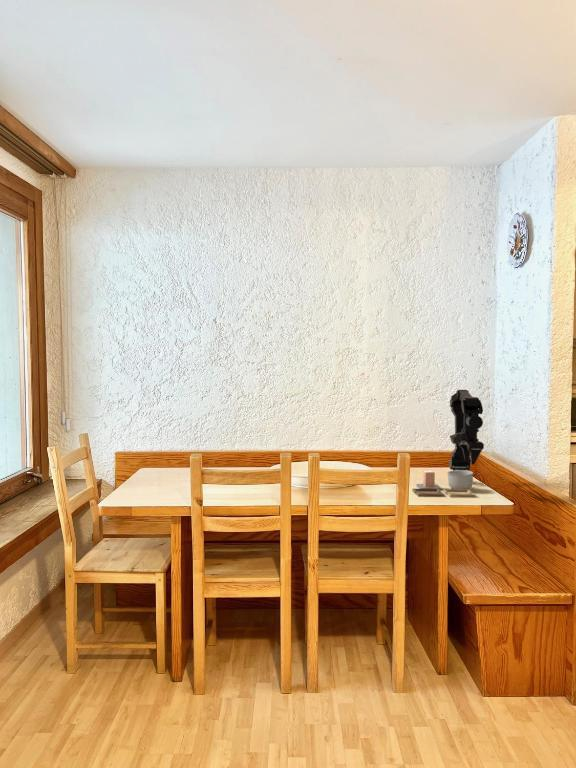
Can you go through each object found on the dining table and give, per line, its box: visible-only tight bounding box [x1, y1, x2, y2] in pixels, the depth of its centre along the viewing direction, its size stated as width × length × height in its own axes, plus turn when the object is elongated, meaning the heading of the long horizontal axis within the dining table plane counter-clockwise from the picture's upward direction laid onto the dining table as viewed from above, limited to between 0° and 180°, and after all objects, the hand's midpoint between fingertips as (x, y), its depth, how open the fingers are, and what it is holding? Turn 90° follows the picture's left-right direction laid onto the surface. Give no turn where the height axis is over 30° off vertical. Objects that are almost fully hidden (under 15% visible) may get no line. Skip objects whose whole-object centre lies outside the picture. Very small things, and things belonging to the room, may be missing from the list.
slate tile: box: [416, 483, 443, 492], centre depth 290 cm, size 9×9×2 cm
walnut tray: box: [412, 488, 445, 498], centre depth 279 cm, size 11×11×2 cm
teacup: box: [447, 470, 474, 490], centre depth 292 cm, size 14×11×8 cm
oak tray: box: [442, 488, 477, 498], centre depth 279 cm, size 11×11×2 cm
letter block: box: [422, 470, 436, 487], centre depth 290 cm, size 4×4×6 cm
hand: (469, 462), depth 284 cm, fingers open, 9 cm apart
